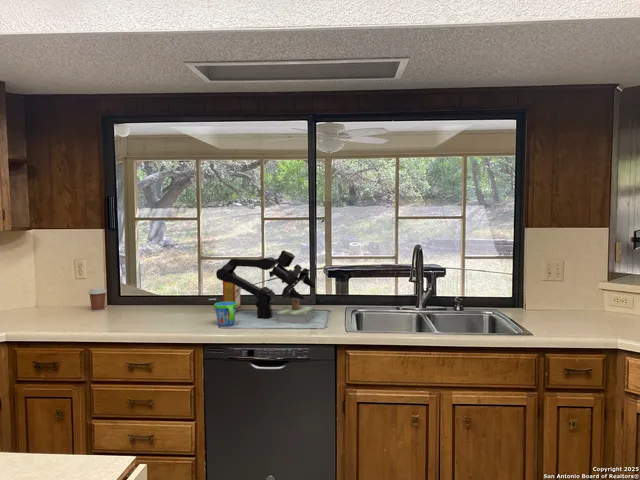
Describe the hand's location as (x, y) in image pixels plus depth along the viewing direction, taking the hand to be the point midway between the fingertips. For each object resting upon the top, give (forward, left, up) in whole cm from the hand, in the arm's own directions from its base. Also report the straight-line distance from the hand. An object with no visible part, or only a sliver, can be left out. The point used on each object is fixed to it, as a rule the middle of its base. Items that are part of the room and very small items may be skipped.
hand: (309, 293), depth 224 cm
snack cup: (-37, -15, -14) cm, 42 cm away
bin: (-7, -1, -14) cm, 15 cm away
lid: (-7, -1, -9) cm, 11 cm away
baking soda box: (-50, +19, -14) cm, 55 cm away
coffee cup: (-119, -2, -14) cm, 120 cm away
